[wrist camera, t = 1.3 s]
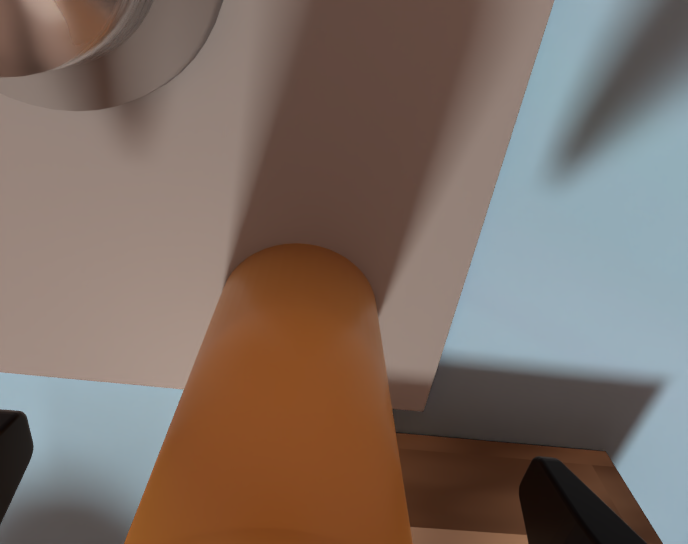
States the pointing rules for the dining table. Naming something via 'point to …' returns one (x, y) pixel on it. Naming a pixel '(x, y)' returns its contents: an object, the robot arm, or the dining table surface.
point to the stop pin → (283, 416)
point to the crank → (63, 32)
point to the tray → (494, 488)
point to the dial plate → (253, 174)
